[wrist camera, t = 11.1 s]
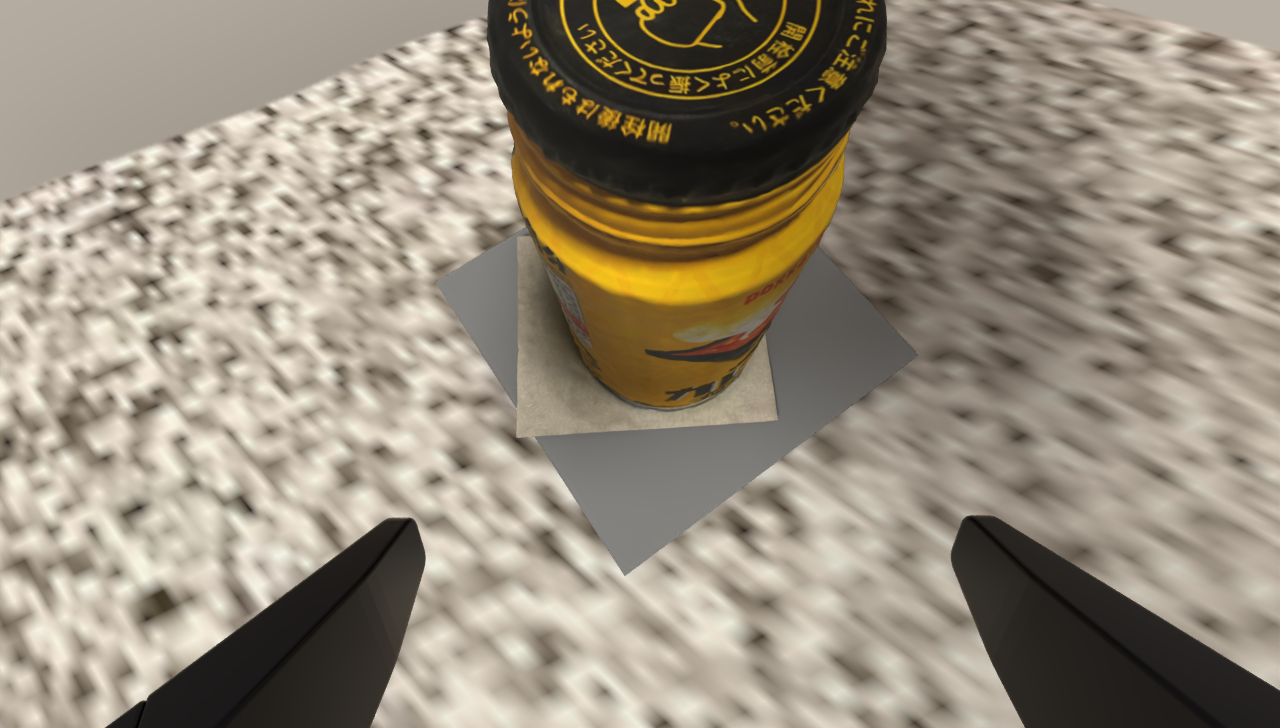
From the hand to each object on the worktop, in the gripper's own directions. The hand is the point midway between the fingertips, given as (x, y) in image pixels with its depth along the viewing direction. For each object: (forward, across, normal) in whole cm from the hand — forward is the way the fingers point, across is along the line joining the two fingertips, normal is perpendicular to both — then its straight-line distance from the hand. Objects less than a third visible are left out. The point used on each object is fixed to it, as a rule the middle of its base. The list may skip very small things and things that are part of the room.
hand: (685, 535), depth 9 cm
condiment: (+10, +1, +1) cm, 10 cm away
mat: (+11, 0, +1) cm, 11 cm away
